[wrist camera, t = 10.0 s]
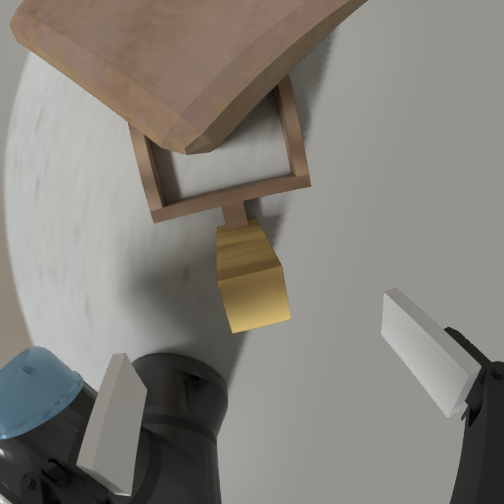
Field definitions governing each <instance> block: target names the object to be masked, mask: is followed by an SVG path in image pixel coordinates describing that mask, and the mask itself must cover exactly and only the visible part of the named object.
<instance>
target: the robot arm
mask: <svg viewBox="0 0 504 504" xmlns="http://www.w3.org/2000/svg"><path fill="white" fill-rule="evenodd" d="M381 335H382V336H383V337H384V338H385V339H386V341H387V342H388V343H389V344H390V346H391V347H392V348H393V349H394V350H395V352H396V353H397V354H398V355H399V356H400V358H401V359H402V360H403V361H404V363H405V364H406V365H407V366H408V368H409V369H410V370H411V371H412V373H413V374H414V375H415V376H416V378H417V379H418V380H419V381H420V382H421V384H422V385H423V387H424V388H425V389H426V390H427V392H428V393H429V394H430V396H431V397H432V398H433V400H434V401H435V402H436V403H437V405H438V406H439V407H440V409H441V410H442V411H443V413H444V414H445V415H446V417H447V418H449V417H450V416H452V415H453V414H455V413H456V412H457V411H459V410H460V409H461V407H462V405H463V404H464V402H466V403H467V404H468V407H467V409H466V410H465V412H464V414H463V415H462V418H461V420H463V419H464V417H465V416H466V421H465V430H464V438H463V445H462V452H461V457H460V463H459V468H458V473H457V477H456V482H455V486H454V490H453V494H452V497H451V501H450V504H504V362H500V361H496V362H491V361H490V360H489V359H488V358H487V357H485V356H484V354H482V353H481V352H480V351H479V350H478V349H477V348H476V347H475V346H474V345H473V344H471V343H470V341H469V340H467V339H465V337H464V336H463V335H462V334H461V333H460V332H459V331H457V330H455V329H452V328H450V327H447V328H445V329H442V328H441V327H440V326H439V325H438V324H437V323H436V322H434V321H433V320H432V319H431V318H430V317H429V316H428V315H427V314H426V313H424V312H423V311H422V310H421V309H420V308H419V307H418V306H416V305H415V304H414V303H413V302H412V301H411V300H409V299H408V298H407V297H406V296H405V295H404V294H403V293H401V292H400V291H399V290H398V289H397V288H395V289H392V290H389V291H386V292H384V302H383V317H382V330H381ZM227 407H228V394H227V387H226V384H225V382H224V381H223V379H222V378H221V376H220V375H219V374H218V373H217V372H216V371H214V370H213V369H212V368H210V367H209V366H207V365H205V364H204V363H202V362H200V361H197V360H195V359H192V358H189V357H185V356H180V355H174V354H154V355H149V356H145V357H142V358H140V359H138V360H136V361H134V362H133V363H132V364H131V362H130V360H129V359H128V357H127V355H126V353H122V354H114V355H112V358H111V360H110V363H109V366H108V368H107V371H106V373H105V376H104V379H103V382H102V384H101V387H100V390H99V393H98V392H97V391H95V390H94V389H93V388H92V387H91V386H89V385H88V384H87V383H86V382H85V381H84V380H83V378H82V377H81V375H80V374H79V373H77V372H76V371H72V370H71V369H70V368H69V367H68V366H66V365H65V364H64V363H63V362H62V361H61V360H60V359H58V358H57V357H56V356H55V355H54V354H53V353H52V352H51V351H49V350H48V349H46V348H43V347H38V346H36V347H30V348H28V349H26V350H24V351H22V352H21V353H19V354H18V355H17V356H16V357H14V358H13V359H12V360H11V361H9V362H8V363H7V364H6V365H5V366H4V367H3V368H2V369H1V370H0V504H222V503H221V492H220V481H219V469H218V453H217V436H218V433H219V430H220V427H221V425H222V422H223V420H224V417H225V414H226V411H227Z"/></svg>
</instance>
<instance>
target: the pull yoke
mask: <svg viewBox="0 0 504 504" xmlns="http://www.w3.org/2000/svg"><path fill="white" fill-rule="evenodd" d="M274 93H275V97H276V101H277V106H278V110H279V115H280V120H281V124H282V129H283V134H284V139H285V144H286V149H287V154H288V159H289V164H290V169H291V175H286V176H281V177H276V178H271V179H266V180H261V181H257V182H252V183H247V184H243V185H239V186H234V187H230V188H226V189H221V190H217V191H213V192H209V193H205V194H201V195H197V196H193V197H190V198H186V199H182V200H178V201H175V202H171V203H167V204H166V201H165V198H164V194H163V190H162V187H161V183H160V179H159V175H158V171H157V167H156V163H155V159H154V155H153V151H152V147H151V142H150V139H149V138H148V137H147V136H145V135H144V134H143V133H142V132H140V131H139V130H138V129H136V128H135V127H134V126H132V125H131V124H130V123H129V122H128V125H129V130H130V134H131V139H132V143H133V148H134V152H135V156H136V160H137V164H138V168H139V172H140V176H141V180H142V183H143V187H144V191H145V194H146V198H147V202H148V205H149V209H150V212H151V215H152V219H153V222H154V223H158V222H161V221H165V220H169V219H172V218H176V217H180V216H184V215H187V214H191V213H195V212H199V211H203V210H207V209H211V208H215V207H219V206H221V207H222V211H223V215H224V219H225V223H226V225H225V226H221V227H217V284H218V288H219V291H220V294H221V298H222V301H223V304H224V308H225V311H226V314H227V317H228V320H229V324H230V327H231V330H232V333H237V332H242V331H246V330H250V329H255V328H259V327H263V326H267V325H271V324H275V323H279V322H283V321H287V320H290V319H291V315H290V309H289V303H288V297H287V291H286V285H285V280H284V274H283V268H282V265H281V263H280V261H279V259H278V257H277V256H276V254H275V252H274V250H273V248H272V246H271V244H270V243H269V241H268V239H267V237H266V235H265V233H264V232H263V230H262V228H261V226H260V224H259V222H258V221H257V219H256V218H255V219H251V220H247V217H246V212H245V208H244V203H243V201H245V200H249V199H254V198H258V197H263V196H267V195H272V194H276V193H281V192H286V191H291V190H296V189H300V188H306V187H311V183H310V177H309V171H308V165H307V159H306V154H305V149H304V143H303V138H302V133H301V128H300V123H299V119H298V114H297V109H296V105H295V100H294V96H293V91H292V87H291V83H290V79H289V75H288V74H287V75H286V76H285V77H284V78H283V79H282V80H281V81H280V82H279V83H278V84H277V85H276V86H275V87H274Z"/></svg>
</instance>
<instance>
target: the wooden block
mask: <svg viewBox="0 0 504 504" xmlns="http://www.w3.org/2000/svg"><path fill="white" fill-rule="evenodd" d="M366 1H368V0H24V1H23V2H22V4H21V5H20V6H19V7H18V9H17V10H16V12H15V14H14V16H13V18H12V20H11V23H10V27H11V30H12V32H13V34H14V36H15V38H16V40H17V42H19V43H20V44H22V45H23V46H25V47H26V48H28V49H29V50H31V51H32V52H33V53H35V54H36V55H38V56H39V57H40V58H42V59H43V60H45V61H46V62H48V63H49V64H50V65H52V66H53V67H55V68H56V69H57V70H59V71H60V72H61V73H63V74H64V75H66V76H67V77H68V78H70V79H71V80H73V81H74V82H75V83H77V84H78V85H79V86H81V87H82V88H83V89H85V90H86V91H87V92H89V93H90V94H91V95H93V96H94V97H96V98H97V99H98V100H100V101H101V102H102V103H104V104H105V105H106V106H108V107H109V108H110V109H111V110H113V111H114V112H115V113H117V114H118V115H119V116H121V117H122V118H123V119H125V120H126V121H127V122H129V123H130V124H131V125H132V126H134V127H135V128H136V129H138V130H139V131H140V132H142V133H143V134H144V135H145V136H147V137H148V138H149V139H151V140H152V141H153V142H154V143H156V144H157V145H158V146H160V147H161V148H163V149H167V150H171V151H175V152H178V153H182V154H186V155H190V154H198V153H207V152H211V151H213V150H215V149H217V148H218V146H219V145H220V144H221V143H222V142H223V141H224V140H225V139H226V137H227V136H228V135H229V134H230V133H231V132H232V131H233V130H234V129H235V128H236V126H237V125H238V124H239V123H240V122H241V121H242V120H243V119H244V118H245V117H246V116H247V115H248V114H249V113H250V112H251V111H252V109H253V108H254V107H255V106H256V105H257V104H258V103H259V102H260V101H261V100H262V99H263V98H264V97H265V96H266V95H267V94H268V93H269V92H270V91H271V90H272V89H273V88H274V87H275V86H276V85H277V84H278V83H279V82H280V81H281V80H282V79H283V78H284V77H285V76H286V75H287V74H288V73H289V72H290V71H291V70H292V69H293V68H294V67H295V66H296V65H297V64H298V63H299V62H300V61H301V60H302V59H303V58H304V57H305V56H306V55H307V54H308V53H309V52H310V51H311V50H312V49H313V48H314V47H315V46H316V45H317V44H318V43H319V42H320V41H321V40H322V39H323V38H325V37H326V36H327V35H328V34H329V33H330V32H331V31H332V30H333V29H334V28H336V27H337V26H338V25H339V24H340V23H341V22H342V21H344V20H345V19H346V18H347V17H348V16H349V15H351V14H352V13H353V12H354V11H355V10H356V9H358V8H359V7H360V6H361V5H363V4H364V3H365V2H366Z"/></svg>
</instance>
